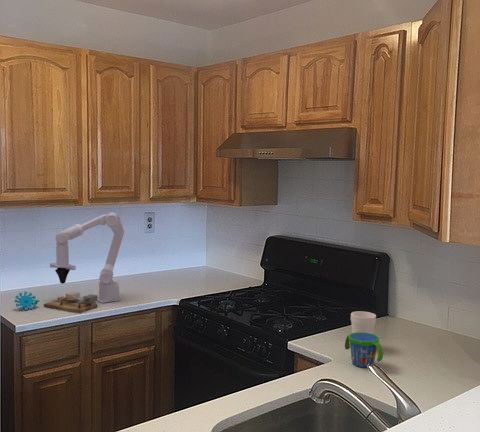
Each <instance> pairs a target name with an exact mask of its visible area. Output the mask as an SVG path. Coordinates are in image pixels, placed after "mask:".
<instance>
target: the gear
mask: <svg viewBox="0 0 480 432" xmlns="http://www.w3.org/2000/svg"><path fill="white" fill-rule="evenodd" d="M23 294H24V295H23ZM39 302H40V298H38V299H36V295H33V292H28V291H24V292H18V294H16V295H15V299H14V303H16V304H15V307H19V310H20V311H23V308H24V311H25V312H27V311H28V310H31V311H33V309H34V308H36V307H37V305H38V303H39Z"/></svg>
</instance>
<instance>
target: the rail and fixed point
mask: <svg viewBox="0 0 480 432" xmlns="http://www.w3.org/2000/svg"><path fill="white" fill-rule="evenodd" d="M65 297H66V296H58V297H57V298H56V300H59V299H62V298H65ZM82 298H83V299H80V298H78V299H75V300H67V299H65V300H63V301H66V302H72V303H77V304H79V307H80V304H84V305H90V306H92V305H95V304H97V302H98V300H97V298H98V295H97V294H88V295H84V296H83V297H82Z"/></svg>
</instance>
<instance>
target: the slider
mask: <svg viewBox="0 0 480 432" xmlns="http://www.w3.org/2000/svg"><path fill="white" fill-rule="evenodd" d="M64 297H65V298H62V299H59V301H61V304H63V300H65V299H67V300H75V299H80V298H81V292H77V291H71V292H68V293H65V296H64Z"/></svg>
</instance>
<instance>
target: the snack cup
mask: <svg viewBox="0 0 480 432" xmlns="http://www.w3.org/2000/svg"><path fill="white" fill-rule="evenodd" d="M344 349H345V350H350V356H351V363H352V365H354V366H356V367H359V368H368V367H367V365H368V364H373V365H374V364H375V360H377V362H381V361H382V360H383V357H384V354H383V348H382V345H381V343H380V337H379V336H377V335H376V334H374V333H373V334H370V333H363V332H357V333H352V332H351V333H350V334H348V335H346V338H345V342H344ZM376 353H377V358H376Z"/></svg>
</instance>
